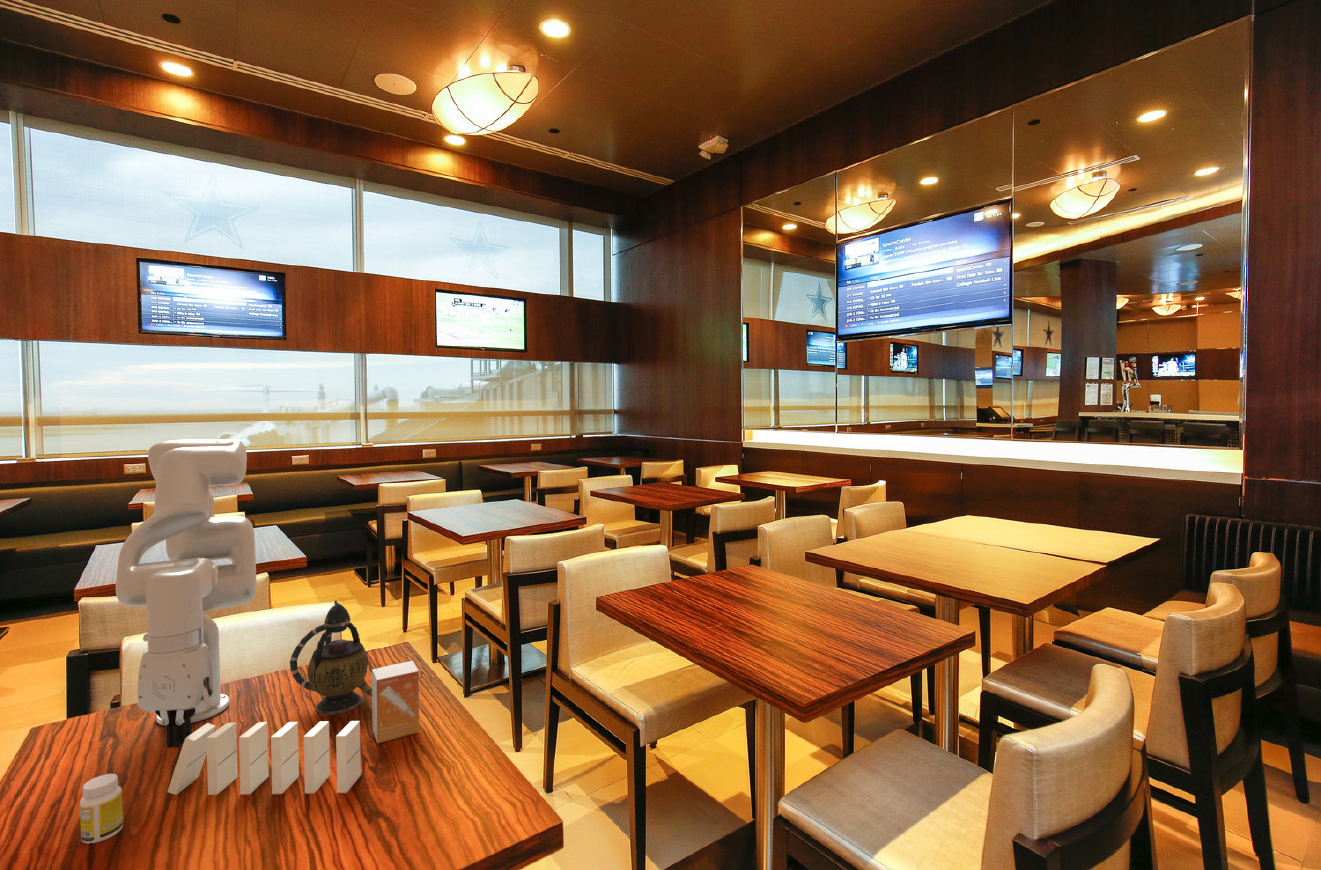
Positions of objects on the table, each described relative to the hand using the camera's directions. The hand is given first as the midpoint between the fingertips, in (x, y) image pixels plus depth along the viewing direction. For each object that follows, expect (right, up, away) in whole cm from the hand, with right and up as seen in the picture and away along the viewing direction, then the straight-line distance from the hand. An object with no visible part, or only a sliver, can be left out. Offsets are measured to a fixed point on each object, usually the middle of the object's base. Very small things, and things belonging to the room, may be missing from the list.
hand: (179, 743), depth 104 cm
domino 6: (+29, -8, +1) cm, 30 cm away
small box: (+30, -7, +18) cm, 36 cm away
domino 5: (+24, -8, +1) cm, 25 cm away
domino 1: (0, -8, 0) cm, 8 cm away
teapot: (+15, -7, +28) cm, 33 cm away
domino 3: (+13, -8, +1) cm, 15 cm away
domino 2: (+7, -8, +1) cm, 11 cm away
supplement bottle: (-3, -8, -11) cm, 14 cm away
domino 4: (+18, -8, +1) cm, 20 cm away
